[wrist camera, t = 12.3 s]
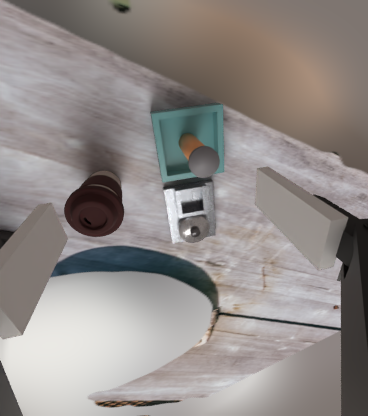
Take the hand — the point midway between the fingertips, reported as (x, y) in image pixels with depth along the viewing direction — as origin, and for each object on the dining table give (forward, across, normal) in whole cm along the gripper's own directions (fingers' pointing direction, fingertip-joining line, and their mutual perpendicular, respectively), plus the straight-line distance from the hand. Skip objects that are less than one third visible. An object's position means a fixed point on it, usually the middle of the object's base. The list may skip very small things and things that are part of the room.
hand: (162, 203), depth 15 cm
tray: (+37, +8, -5) cm, 38 cm away
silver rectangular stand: (+37, +7, -23) cm, 44 cm away
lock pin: (+36, +8, -5) cm, 37 cm away
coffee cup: (+37, -12, -12) cm, 41 cm away
